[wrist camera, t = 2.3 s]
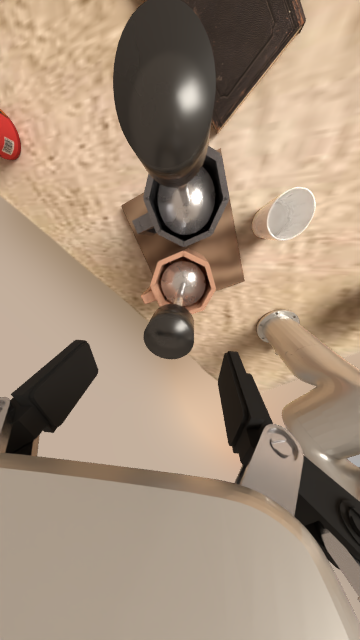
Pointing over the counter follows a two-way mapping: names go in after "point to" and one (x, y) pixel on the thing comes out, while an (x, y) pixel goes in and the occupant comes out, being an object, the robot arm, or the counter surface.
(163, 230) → the dark grey faceted mug
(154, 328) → the black knob metal plunger
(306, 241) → the counter surface
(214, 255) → the walnut board
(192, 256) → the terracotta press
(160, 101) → the charcoal plunger
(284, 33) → the hardcover book
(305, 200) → the white cup
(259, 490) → the robot arm
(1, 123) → the canned food
